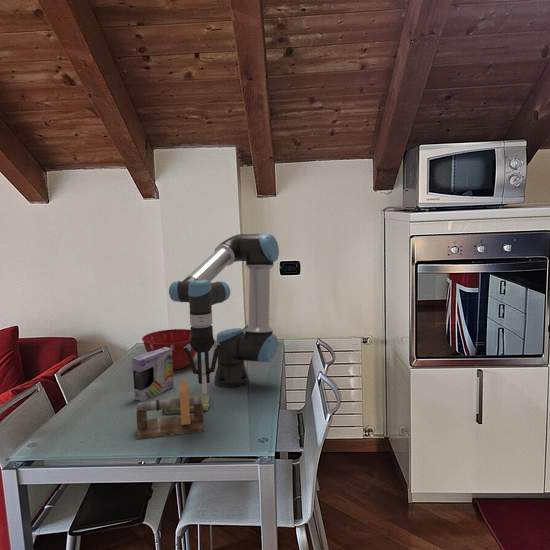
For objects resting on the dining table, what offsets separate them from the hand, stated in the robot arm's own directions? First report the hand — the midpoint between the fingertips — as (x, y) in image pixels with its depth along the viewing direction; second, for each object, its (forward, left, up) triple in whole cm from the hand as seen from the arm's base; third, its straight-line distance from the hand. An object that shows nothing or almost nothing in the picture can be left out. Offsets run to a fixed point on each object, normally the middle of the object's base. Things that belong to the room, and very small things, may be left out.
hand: (204, 392), depth 168 cm
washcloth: (+6, -18, -12) cm, 22 cm away
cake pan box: (+19, -36, -12) cm, 42 cm away
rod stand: (+12, 0, -12) cm, 17 cm away
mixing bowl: (+11, -74, -12) cm, 76 cm away
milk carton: (-29, -77, -12) cm, 83 cm away
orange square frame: (+7, 0, -9) cm, 11 cm away
